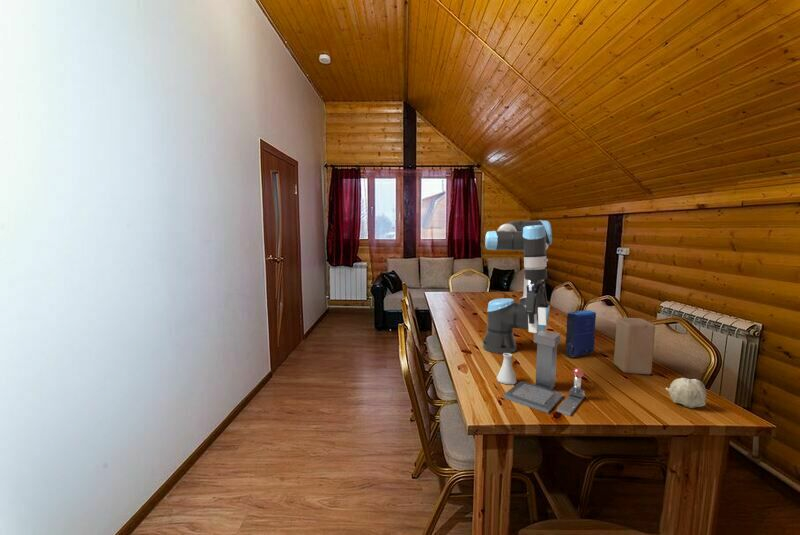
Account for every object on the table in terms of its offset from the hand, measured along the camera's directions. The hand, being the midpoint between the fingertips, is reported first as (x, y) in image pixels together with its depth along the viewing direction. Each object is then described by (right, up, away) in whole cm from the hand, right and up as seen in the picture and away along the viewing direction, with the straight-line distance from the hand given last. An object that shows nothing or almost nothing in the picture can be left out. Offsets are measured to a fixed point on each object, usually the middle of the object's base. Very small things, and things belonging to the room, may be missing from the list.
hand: (537, 328), depth 122 cm
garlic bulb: (+40, -21, -16) cm, 48 cm away
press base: (-2, -20, -11) cm, 24 cm away
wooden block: (+42, -19, +11) cm, 47 cm away
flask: (-11, -19, 0) cm, 23 cm away
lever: (+8, -19, -12) cm, 24 cm away
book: (+29, -17, +27) cm, 43 cm away
